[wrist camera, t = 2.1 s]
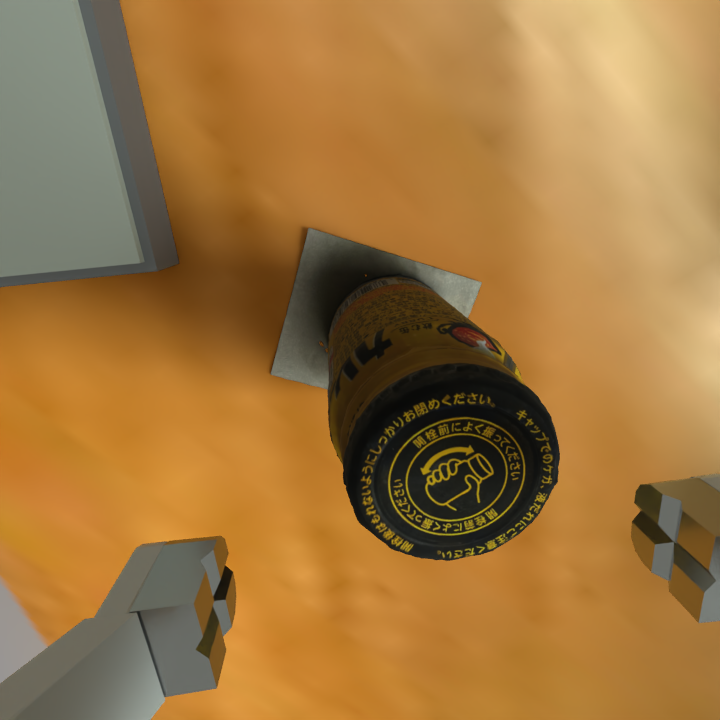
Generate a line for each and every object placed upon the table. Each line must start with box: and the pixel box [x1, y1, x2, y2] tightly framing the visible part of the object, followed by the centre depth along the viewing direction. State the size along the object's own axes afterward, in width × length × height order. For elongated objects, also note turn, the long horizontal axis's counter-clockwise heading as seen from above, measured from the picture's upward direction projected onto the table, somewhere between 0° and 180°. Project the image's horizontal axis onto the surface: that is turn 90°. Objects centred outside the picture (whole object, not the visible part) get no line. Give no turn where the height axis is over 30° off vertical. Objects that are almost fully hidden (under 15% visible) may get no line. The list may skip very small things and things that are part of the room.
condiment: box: [271, 228, 560, 561], centre depth 15 cm, size 7×8×12 cm
